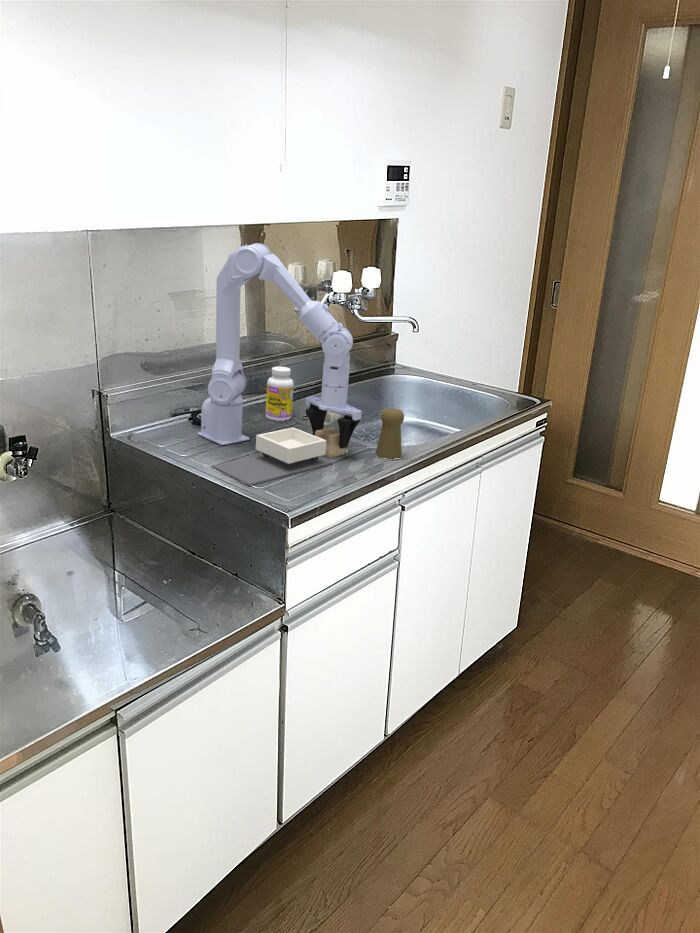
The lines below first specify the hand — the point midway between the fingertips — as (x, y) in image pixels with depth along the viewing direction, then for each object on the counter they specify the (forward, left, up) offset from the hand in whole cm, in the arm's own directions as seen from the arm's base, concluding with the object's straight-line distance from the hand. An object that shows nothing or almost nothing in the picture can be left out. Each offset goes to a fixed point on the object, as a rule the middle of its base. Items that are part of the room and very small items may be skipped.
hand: (330, 443), depth 175 cm
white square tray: (0, -12, -2) cm, 12 cm away
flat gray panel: (0, -17, -2) cm, 17 cm away
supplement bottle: (-26, +7, -3) cm, 27 cm away
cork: (+9, +10, -2) cm, 14 cm away
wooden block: (0, 0, -2) cm, 2 cm away
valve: (-16, +16, -3) cm, 23 cm away
